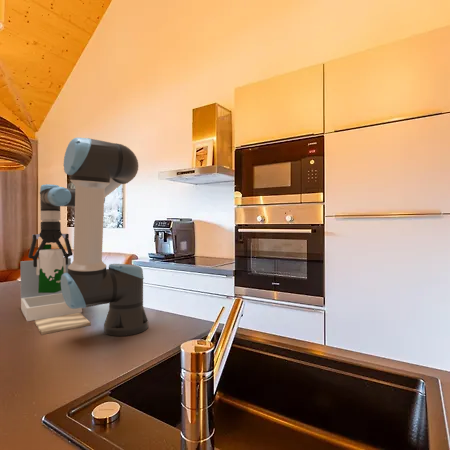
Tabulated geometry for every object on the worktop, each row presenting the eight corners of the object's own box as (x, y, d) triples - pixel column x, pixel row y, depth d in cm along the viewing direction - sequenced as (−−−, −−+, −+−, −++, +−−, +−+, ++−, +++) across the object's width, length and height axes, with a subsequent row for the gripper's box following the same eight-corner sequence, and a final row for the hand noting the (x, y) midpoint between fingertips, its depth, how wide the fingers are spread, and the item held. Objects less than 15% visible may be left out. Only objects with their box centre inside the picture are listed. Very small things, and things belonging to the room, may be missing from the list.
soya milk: (46, 289, 141) (46, 243, 141) (67, 289, 141) (66, 243, 141) (34, 293, 132) (34, 245, 132) (56, 293, 132) (55, 245, 132)
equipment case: (82, 312, 135) (81, 262, 135) (27, 321, 123) (26, 266, 123) (67, 299, 157) (67, 256, 157) (19, 306, 145) (18, 260, 144)
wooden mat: (90, 325, 118) (90, 322, 118) (41, 334, 109) (41, 331, 109) (79, 315, 131) (79, 312, 131) (34, 322, 121) (34, 320, 121)
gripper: (76, 221, 146) (76, 270, 146) (19, 221, 133) (19, 275, 133) (80, 220, 140) (80, 272, 140) (21, 221, 127) (22, 277, 127)
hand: (51, 273), depth 137 cm, fingers closed on soya milk, 9 cm apart
